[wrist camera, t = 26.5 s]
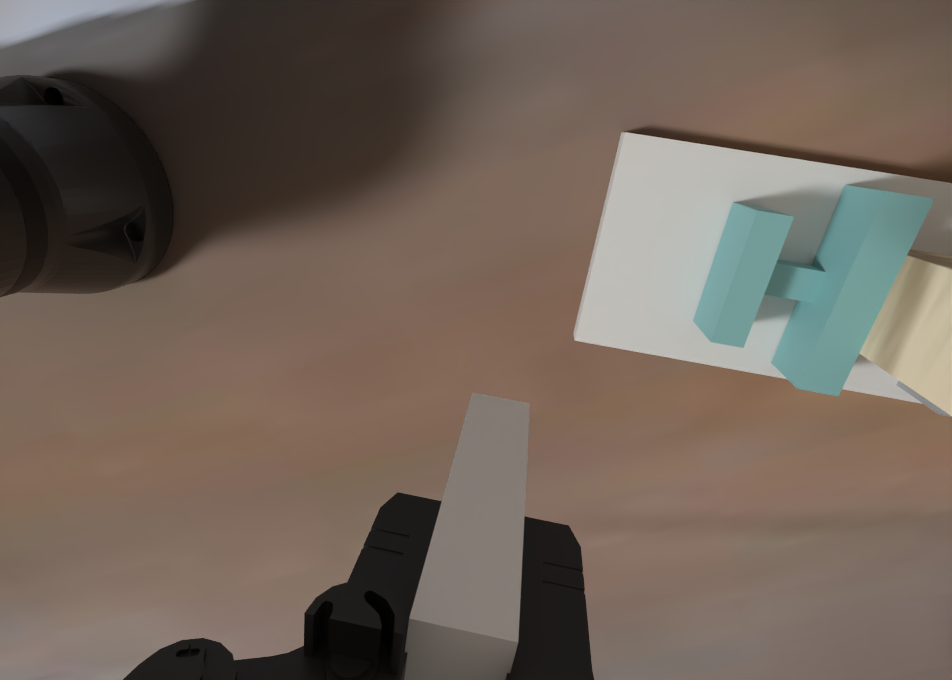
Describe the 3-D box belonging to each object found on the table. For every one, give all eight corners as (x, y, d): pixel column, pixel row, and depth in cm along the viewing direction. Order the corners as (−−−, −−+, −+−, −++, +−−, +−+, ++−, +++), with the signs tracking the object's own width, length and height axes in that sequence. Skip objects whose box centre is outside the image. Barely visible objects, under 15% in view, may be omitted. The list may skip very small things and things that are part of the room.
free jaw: (683, 346, 35) (700, 371, 32) (743, 168, 31) (770, 172, 27) (807, 369, 35) (838, 396, 31) (887, 191, 30) (934, 198, 26)
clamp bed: (573, 333, 37) (578, 363, 32) (621, 132, 32) (636, 131, 27) (919, 395, 36) (980, 437, 31) (1030, 196, 31) (1127, 207, 26)
